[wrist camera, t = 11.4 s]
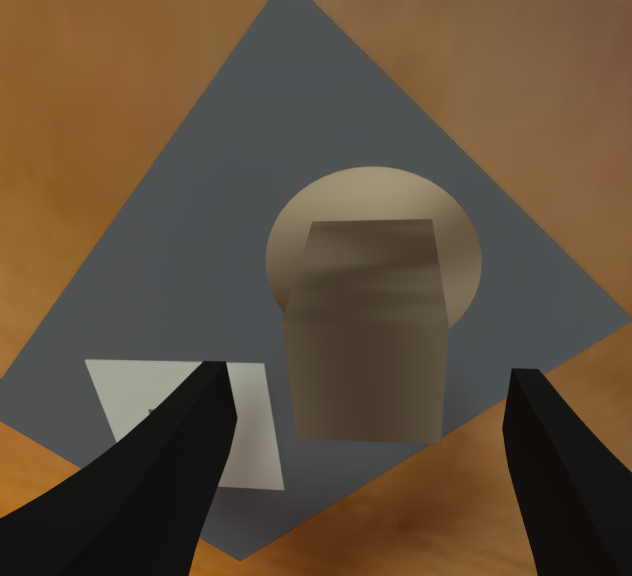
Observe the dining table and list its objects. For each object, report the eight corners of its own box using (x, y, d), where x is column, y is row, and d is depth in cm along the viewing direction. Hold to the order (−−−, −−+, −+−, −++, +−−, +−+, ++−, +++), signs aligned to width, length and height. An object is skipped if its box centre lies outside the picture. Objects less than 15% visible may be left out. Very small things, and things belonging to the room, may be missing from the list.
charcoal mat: (631, 318, 19) (632, 320, 19) (240, 559, 30) (239, 561, 30) (286, -25, 14) (286, -25, 14) (-19, 408, 26) (-20, 409, 26)
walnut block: (432, 218, 17) (448, 325, 12) (428, 318, 19) (441, 444, 14) (312, 221, 18) (281, 323, 13) (320, 317, 20) (297, 438, 15)
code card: (132, 480, 27) (131, 482, 27) (85, 359, 23) (83, 361, 23) (284, 488, 26) (284, 491, 26) (264, 363, 22) (263, 365, 22)
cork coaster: (528, 268, 18) (528, 270, 18) (373, 382, 22) (373, 385, 21) (367, 115, 16) (367, 116, 16) (226, 269, 20) (224, 271, 19)
